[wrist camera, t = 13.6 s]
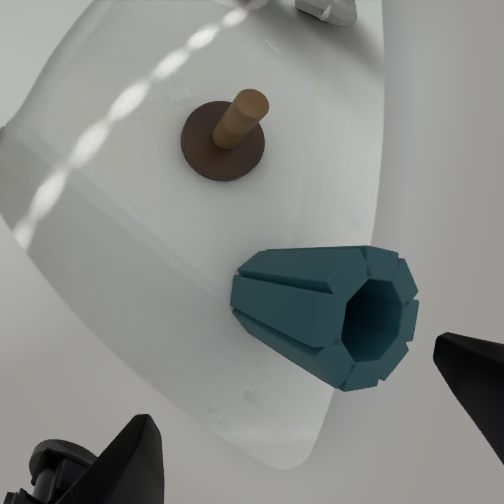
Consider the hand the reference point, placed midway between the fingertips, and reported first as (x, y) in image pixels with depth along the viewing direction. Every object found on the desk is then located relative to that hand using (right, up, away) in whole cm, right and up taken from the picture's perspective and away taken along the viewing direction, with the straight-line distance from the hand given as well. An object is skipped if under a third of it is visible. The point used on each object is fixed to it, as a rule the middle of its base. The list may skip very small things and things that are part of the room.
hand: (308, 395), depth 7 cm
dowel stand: (-4, +11, +12) cm, 17 cm away
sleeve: (0, +1, +13) cm, 13 cm away
